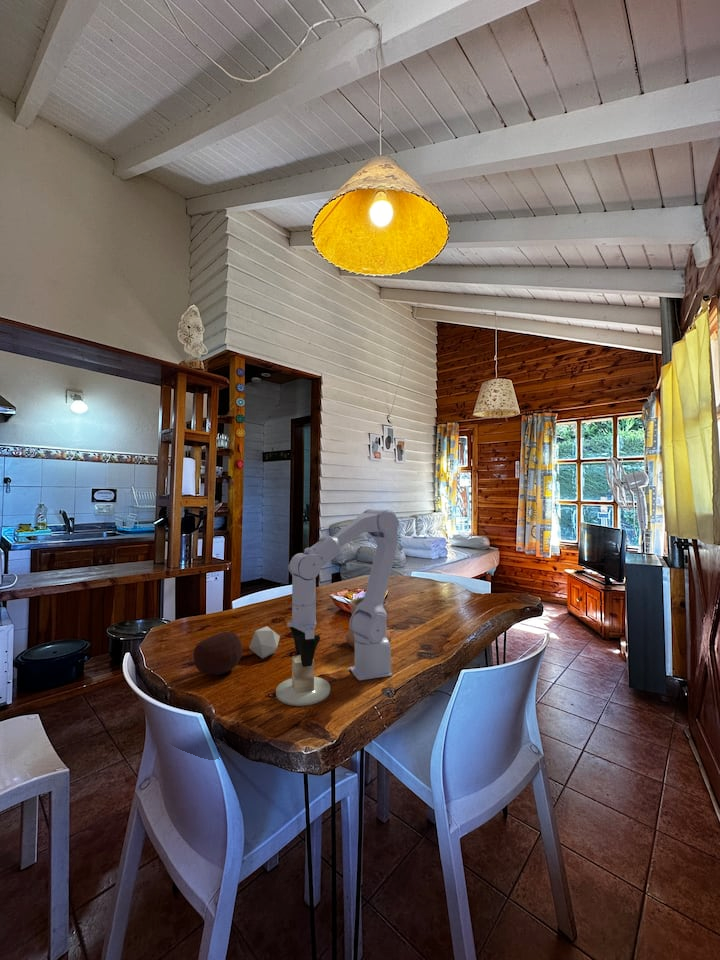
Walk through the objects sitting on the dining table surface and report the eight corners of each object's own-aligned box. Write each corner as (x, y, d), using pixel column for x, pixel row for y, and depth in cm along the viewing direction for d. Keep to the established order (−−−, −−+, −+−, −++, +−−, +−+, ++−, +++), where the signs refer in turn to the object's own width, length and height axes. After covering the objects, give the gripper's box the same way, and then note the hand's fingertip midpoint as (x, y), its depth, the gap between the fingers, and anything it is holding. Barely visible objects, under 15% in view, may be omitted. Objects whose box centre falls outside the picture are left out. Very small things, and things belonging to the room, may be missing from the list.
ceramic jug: (401, 652, 122) (401, 605, 123) (357, 659, 117) (357, 610, 117) (376, 634, 139) (376, 593, 140) (337, 639, 133) (337, 596, 134)
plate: (323, 677, 105) (323, 673, 105) (336, 700, 93) (336, 696, 93) (272, 684, 101) (272, 680, 101) (279, 709, 88) (280, 705, 89)
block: (309, 682, 100) (310, 653, 100) (313, 690, 95) (314, 660, 96) (291, 685, 98) (292, 656, 99) (295, 693, 94) (295, 663, 94)
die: (282, 659, 118) (286, 627, 124) (261, 652, 113) (266, 618, 119) (263, 664, 122) (267, 632, 128) (241, 657, 116) (247, 624, 123)
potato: (185, 675, 106) (186, 635, 107) (230, 660, 116) (231, 624, 117) (204, 688, 99) (205, 645, 99) (251, 671, 108) (252, 632, 109)
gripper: (283, 597, 103) (283, 651, 103) (292, 612, 90) (292, 674, 89) (310, 595, 106) (310, 647, 105) (323, 609, 92) (323, 669, 91)
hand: (303, 659), depth 97 cm, fingers open, 7 cm apart
